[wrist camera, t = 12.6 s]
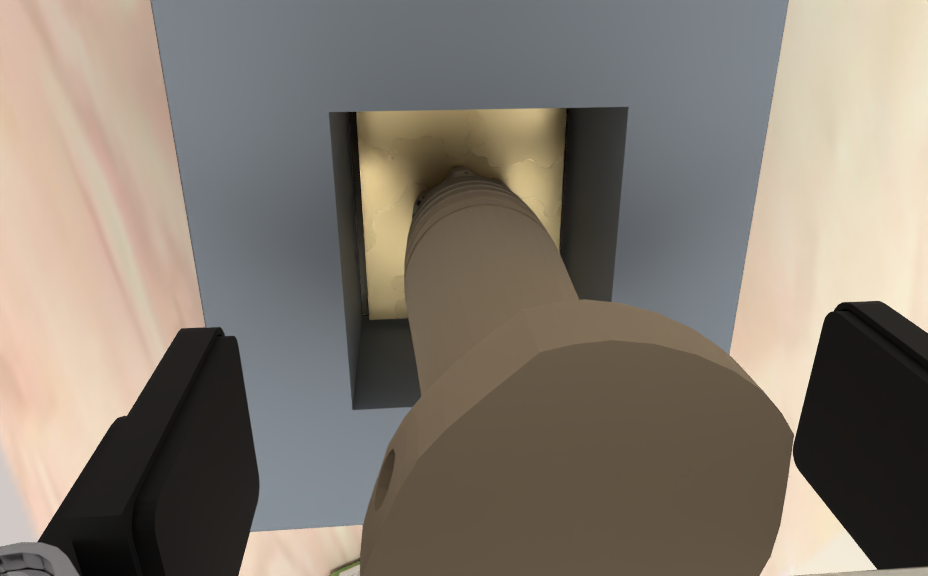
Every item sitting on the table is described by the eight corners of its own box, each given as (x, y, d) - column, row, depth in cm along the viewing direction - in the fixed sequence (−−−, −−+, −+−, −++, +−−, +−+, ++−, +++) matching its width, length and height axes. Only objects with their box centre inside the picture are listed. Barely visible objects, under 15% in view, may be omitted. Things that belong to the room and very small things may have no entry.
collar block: (197, -78, 19) (118, -105, 14) (705, -76, 20) (819, -100, 15) (266, 424, 26) (231, 541, 20) (648, 404, 27) (712, 509, 21)
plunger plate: (357, 90, 21) (355, 95, 21) (560, 87, 22) (567, 91, 21) (370, 307, 24) (369, 319, 23) (549, 300, 25) (555, 311, 24)
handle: (359, 277, 23) (300, 710, 9) (428, 89, 21) (491, 283, 7) (492, 321, 24) (623, 768, 10) (572, 147, 22) (874, 415, 8)
